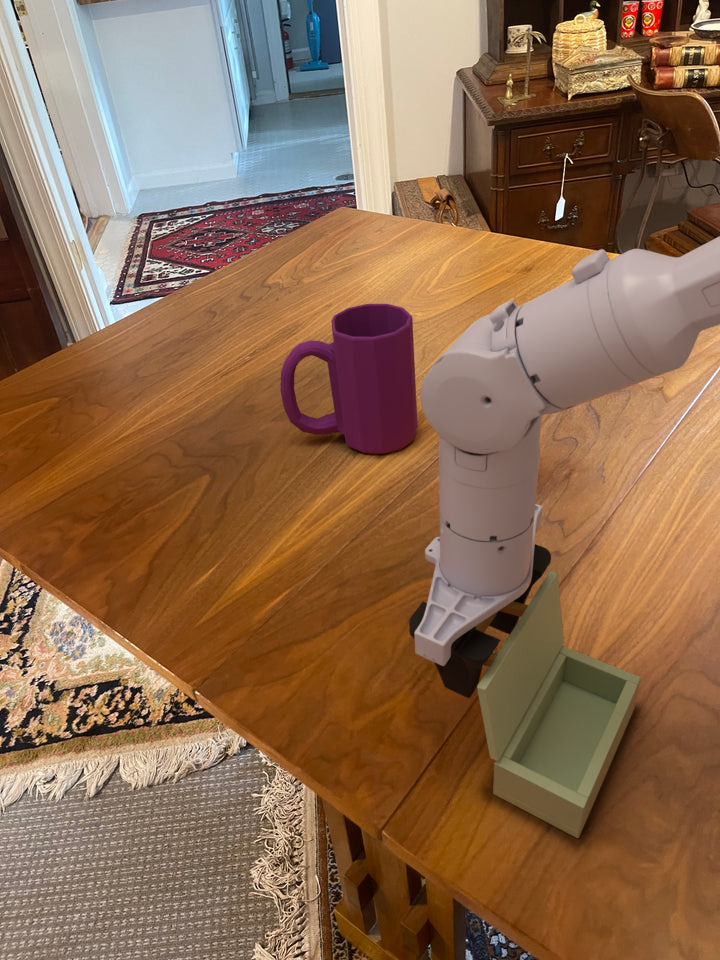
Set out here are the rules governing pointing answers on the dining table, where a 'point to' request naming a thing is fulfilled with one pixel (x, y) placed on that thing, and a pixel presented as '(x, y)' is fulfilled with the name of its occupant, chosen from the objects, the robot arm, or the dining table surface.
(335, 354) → the mug
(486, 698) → the lid
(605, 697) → the box
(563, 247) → the dining table surface
